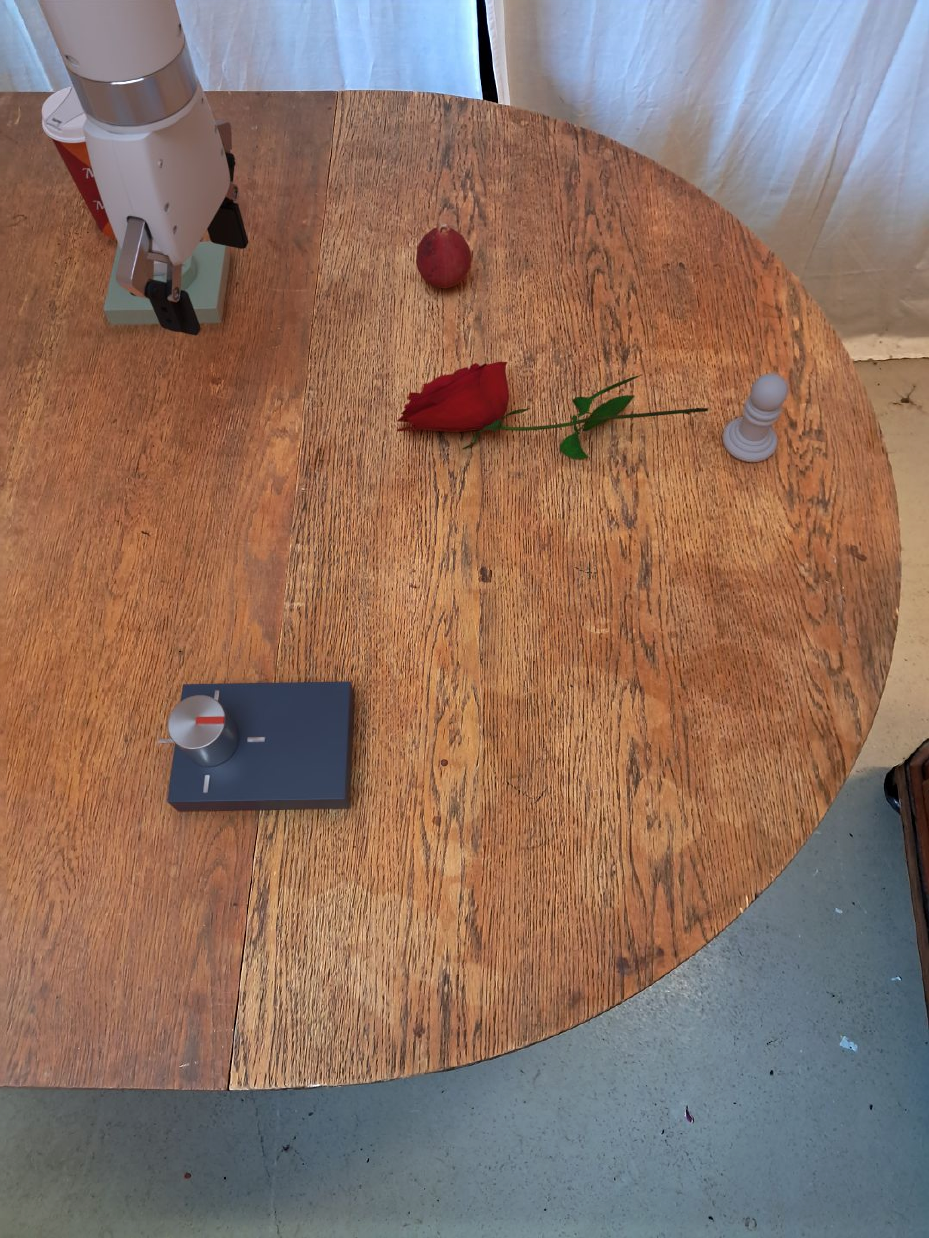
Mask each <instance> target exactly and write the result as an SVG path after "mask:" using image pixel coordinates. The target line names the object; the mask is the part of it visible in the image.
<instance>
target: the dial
mask: <svg viewBox="0 0 929 1238" xmlns="http://www.w3.org/2000/svg"><path fill="white" fill-rule="evenodd" d="M167 732H168V735H169V738H170V739H172V740H173V742H174V743H173V744H174V745H175V744H176V745H177V746H178V747H179V748H180V749H181V750H182V751H183V752H184V753H185V754H186V755H187V756H188V758H189V759H190V760H192V761H193V762H194V763H196V764H198V765H201V766H208V767H209V766H216V765H219V764H221V763H223V762H225V761H226V760H227V759H229V758H230V757H231V756H232V754H233V753H234V752H235V750H236V748H237V745H238V741H239V733H238V729H237V727H236V725H235V724H234V722H233V721H232V719H231V718H230V717H229V715H228V714H227V712H226V711H225V710H224V708H223V707H222V705H221V704H220V703H219V702H218V701H217V700H216V699H214V698H212V697H209V696H205V695H195V696H191V697H188V698H186V699H184V700H182V701H181V700H180V702H178V703H177V704H176V705H175V707H174V708H173V709H172V710H171V712H170V714H169V716H168V720H167Z"/></svg>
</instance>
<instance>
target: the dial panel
mask: <svg viewBox="0 0 929 1238" xmlns="http://www.w3.org/2000/svg"><path fill="white" fill-rule="evenodd" d="M351 682H352V681H350V680H347V681H343V680H342V681H291V682H290V681H289V682H284V681H283V682H238V683H237V682H232V683H227V682H226V683H183V684H182V688H181V695H180V702H181V701H182V700H184V699H186V698H188V697H191V696H195V695H205V696H209V697H212V698H214V699H216V700H217V701H218V702H219V703H220V704H221V705H222V707H223V708H224V710H225V711H226V712H227V714H228V715H229V717H230V718H231V719H232V721H233V722H234V724H235V725H236V727H237V729H238V733H239V741H238V745H237V748H236V750H235V752H234V753H233V754H232V756H231V757H230V758H229V759H227V760H226V761H225V762H223V763H221V764H219V765H216V766H209V767H208V766H201V765H198V764H196V763H194V762H193V761H192V760H190V759H189V758H188V756H187V755H186V754H185V753H184V752H183V751H182V750H181V749H180V748H179V747H178V746H177V745H176V744H175V743H174V742H173V740H172V739H171V738H158V740H157V743H158V745H159V744H174V748H173V755H172V762H171V763H172V764H171V769H170V770H171V771H170V776H169V785H168V791H167V792H168V793H167V804H169V805H170V806H171V807H172V808H173V809H175V810H176V811H177V812H179V813H181V812H182V813H183V812H233V811H235V812H237V811H289V810H291V811H292V810H293V811H295V810H296V811H297V810H347V809H350V808H351V791H352V769H353V768H352V767H353V766H352V765H353V741H354V723H355V722H354V721H355V696H356V693H355V691H354V689H353V686H352V683H351Z"/></svg>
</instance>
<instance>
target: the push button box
mask: <svg viewBox="0 0 929 1238" xmlns="http://www.w3.org/2000/svg"><path fill="white" fill-rule="evenodd" d="M121 251H122V250H121V248H120V246H119V244H118V243H117V246H116V250H115V255H114V259H113V263H112V267H111V273H110V277H109V281H108V282H109V283H108V287H107V291H106V294H105V295H106V296H105V300H104V304H103V308H102V311H103V313H104V315H105V317H106V319H107V320H108V324H109V325H110V326H134V325H135V326H136V325H137V326H138V325H160V323H159V321H158V319H157V316H156V314H155V312H154V309H153V307H152V305H151V302H150V300H149V299H147V298H143V297H138V296H133V295H131V294H130V292H129V291H127V290H126V289H124V288H123V287H122V286H120V285H119V284H118V283H117V281H116V273H117V268H118V264H119V260H120V255H121ZM231 259H232V256H231V253H230V249H229V246H225V245H220V244H215V243H213V242H211V240H210V241H199V243H198V245H197V246H196V248H195V250H194V251H193V253H192V254H191V255H190V257H189V258H188V259H187V260H186V261H184V262H183V263H182V273H181V290H184V291H186V292H187V293H188V295H189V297H190V300H191V303H192V305H193V308H194V311H195V313H196V316H197V319H198V321H199V324H222V323H223V315H224V308H225V302H226V295H227V288H228V287H227V286H228V280H229V273H230V265H231ZM166 277H167V274H166V275H164V276H154V280H158V281H162V282H166Z"/></svg>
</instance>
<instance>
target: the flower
mask: <svg viewBox="0 0 929 1238" xmlns="http://www.w3.org/2000/svg"><path fill="white" fill-rule="evenodd" d="M508 363H509V362H508V361H497V362H492V363H488V364H487V363H484V364H482V365H480V364H479V363H477V362H475V363H473V364H471V365H470V367H468V366H467V367H462V368H459V369H456V370H455V371H454V372H453V373H449V374H442V375H438V376H437V377H435V378H434V379H432V381H430V382H427V383H423V384H422V390H421V391H420V392H409V393H408V396H407V397H406V399H407V400H409V402H408V403H405V404H404V406H403V408H404V410H403V411H402V412H400V415H401V416H400V417H399V418H398V419H397V420H396V422H398V423H399V422H400V423H409V424H410V425H411V426H406V427H399V428H397V429H396V431H397V432H407V431H413V430H414V431H415V430H416V431H417V430H423V431H434V432H435V431H436V432H446V433H455V432H456V433H457V432H459V433H460V432H461V433H462V432H468V431H470V432H471V431H476V430H478V431H477V432H475V433H473V435H472V436H471V439H472V440H473V442H471V443H470V444H468V445H466V446H464V447H463V448H462V450H465V449H467V448H470V447H471V446H474V445H475V444H476V443H478V440H479V437H480V435H481V433H483V432H485V431H487V430H489V431H493V433H496V434H497V433H498V430H502V431H503V430H504V431H511V432H513V431H516V432H518V431H519V432H526V431H527V432H529V431H536V432H537V431H542V430H551V429H561V428H565V427H571V426H573V431H574V433H571V434H570V435H568V436H566V437H565V438H564V439H563V440H562V441H561V443H560V445H559V450H560V452H561V453H562V454H563V455H564V456H565V457H568V458H570V459H575V460H581V459H583V460H584V459H588V458H590V457H589V456H588V455H587V454H586V452H585V451H584V449H583V448H582V444H581V440H580V435H581V432H584V433H585V432H588V431H590V430H593V429H595V428H597V427H599V426H601V425H603V424H605V423H606V422H608V421H610V420H621V419H636V418H637V419H639V418H646V417H647V418H648V417H649V418H650V417H658V416H668V415H679V414H685V415H687V416H691V413H692V414H693V413H705V412H709V408H708V407H696V408H686V409H673V410H663V411H652V412H643V413H636V412H635V413H628V414H620V413H622V412H623V411H624V410H625V408H626V407H627V406H629V404H630V403H631V402H632V400H634V398H635V395H633V394H632V395H630V394H629V395H628V394H627V395H620V396H616V397H614V398H610V399H609V400H607V401H605V402H603V403H601V404H600V405H598V406H597V407H596V408H595V409H594V410H592V412H589V410H590V408H591V405H592V403H593V401H594V400H595V398H597V397H599V396H600V395H603V394H605V393H607V392H609V391H611V390H613V389H616V388H618V387H620V386H623V385H624V384H628V383H630V382H632V381H633V380H636V379H638V378H639V377H641V376H644V373H643V374H639V375H635V376H631V377H629V378H626V379H624V380H621V381H619V382H615V383H613V384H611V385H609V386H607V387H605V388H603V389H601V390H599V391H597V392H595V393H594V394H592V395H590V396H588V397H586V396H576V397H574V398H573V399H572V402H573V404H574V406H575V407H576V409H577V410H578V411H577V412H578V413H577V414H576V415H575V414H574V415H572V417H571V421H568V422H562V423H556V424H547V425H536V426H508V425H504V422H503V421H504V420H505V419H506V418H507V417H509V416H513V415H517V414H522V413H524V412H527V411H528V410H530V409H531V407H528V408H520V409H515V410H512V411H510V412H508V413H507V407H508V406H509V401H510V400H509V399H510V391H509V390H510V389H509V385H508V377H507V373H506V372H507V371H506V366H507V365H508ZM586 414H587V415H588V414H589V416H588V417H586V418H582V419H578V418H581V417H582V416H584V415H586ZM580 424H582V425H581V427H580V428H578V426H577V425H580ZM580 431H581V432H580Z"/></svg>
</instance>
